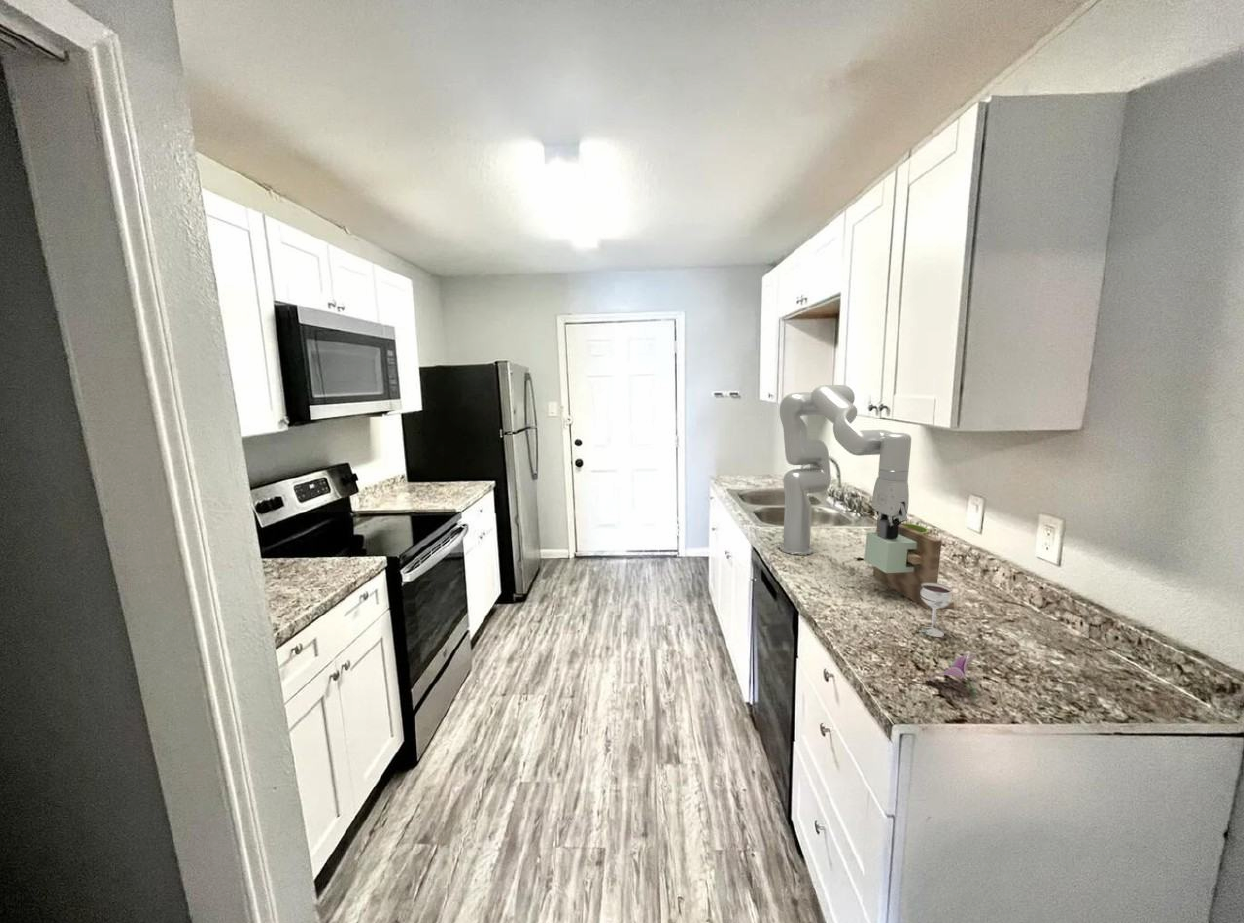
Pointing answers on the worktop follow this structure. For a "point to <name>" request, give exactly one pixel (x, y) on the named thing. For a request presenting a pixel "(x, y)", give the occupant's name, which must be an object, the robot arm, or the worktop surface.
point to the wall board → (915, 566)
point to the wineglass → (935, 602)
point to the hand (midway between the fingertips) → (887, 535)
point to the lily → (959, 668)
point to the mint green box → (888, 550)
